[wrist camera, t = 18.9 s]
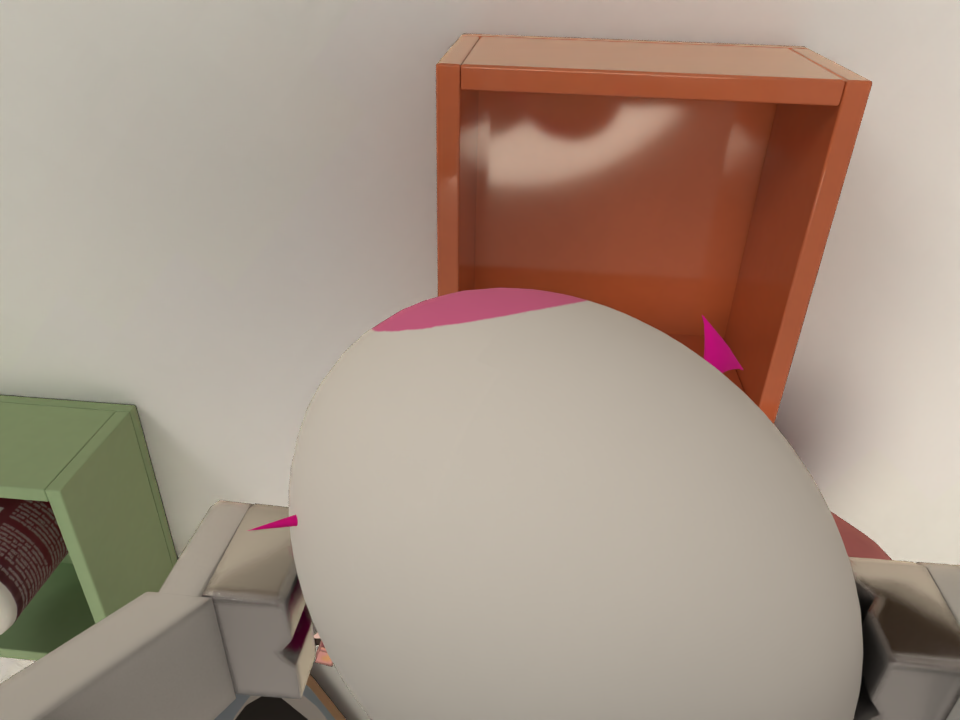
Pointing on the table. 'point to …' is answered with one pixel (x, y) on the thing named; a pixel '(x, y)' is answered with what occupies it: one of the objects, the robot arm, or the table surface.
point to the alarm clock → (284, 706)
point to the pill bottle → (26, 554)
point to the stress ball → (563, 525)
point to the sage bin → (83, 513)
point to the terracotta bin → (648, 182)
